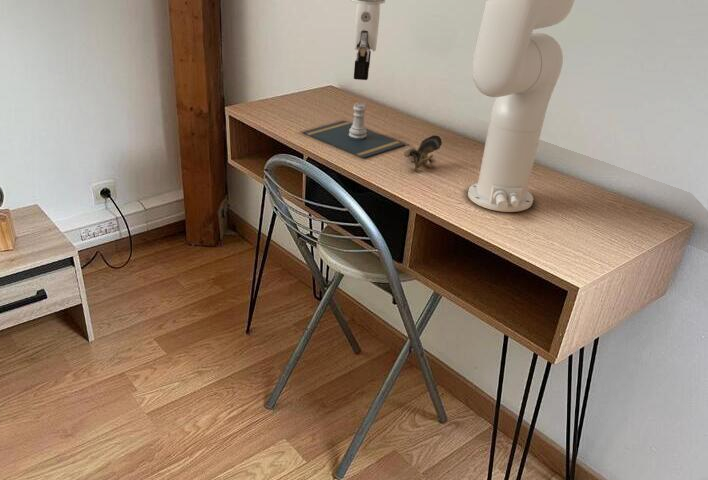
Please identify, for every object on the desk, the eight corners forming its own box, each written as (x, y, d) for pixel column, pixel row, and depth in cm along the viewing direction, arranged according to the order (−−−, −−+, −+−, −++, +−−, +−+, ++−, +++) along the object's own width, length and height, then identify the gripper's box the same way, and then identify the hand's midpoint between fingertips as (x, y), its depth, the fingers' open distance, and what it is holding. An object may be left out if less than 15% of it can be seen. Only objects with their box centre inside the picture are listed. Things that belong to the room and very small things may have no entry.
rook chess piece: (367, 140, 154) (370, 107, 150) (348, 139, 154) (351, 106, 150) (366, 133, 158) (368, 101, 153) (348, 133, 158) (350, 101, 153)
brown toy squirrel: (441, 170, 137) (449, 149, 143) (425, 143, 134) (434, 123, 140) (410, 182, 141) (419, 161, 147) (394, 156, 138) (404, 136, 144)
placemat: (404, 145, 153) (404, 143, 152) (364, 158, 145) (364, 157, 145) (343, 121, 166) (343, 120, 166) (303, 133, 158) (303, 131, 158)
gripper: (385, 1, 131) (376, 85, 141) (386, -12, 146) (378, 65, 155) (348, -1, 132) (343, 82, 141) (353, -14, 146) (347, 62, 156)
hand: (361, 73), depth 148 cm, fingers open, 9 cm apart
